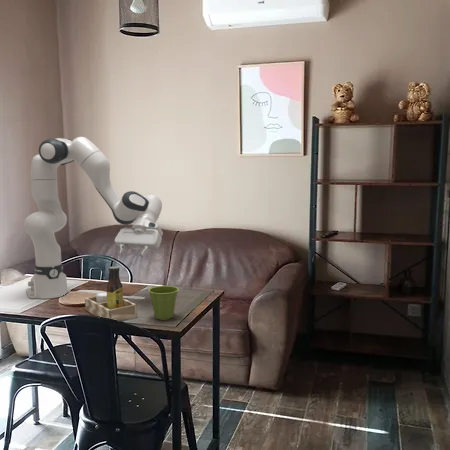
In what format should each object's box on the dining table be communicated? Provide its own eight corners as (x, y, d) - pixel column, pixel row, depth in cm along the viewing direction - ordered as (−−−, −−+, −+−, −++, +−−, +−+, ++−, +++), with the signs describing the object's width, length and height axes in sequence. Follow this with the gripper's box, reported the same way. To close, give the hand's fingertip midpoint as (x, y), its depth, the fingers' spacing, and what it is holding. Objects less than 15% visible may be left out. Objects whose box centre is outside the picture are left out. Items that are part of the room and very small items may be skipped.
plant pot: (185, 318, 196) (184, 290, 195) (157, 324, 189) (157, 295, 188) (170, 310, 206) (169, 283, 204) (143, 316, 199) (142, 288, 197)
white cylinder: (109, 313, 203) (108, 296, 202) (93, 312, 204) (92, 295, 203) (116, 308, 210) (115, 292, 209) (101, 307, 211) (100, 291, 210)
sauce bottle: (119, 319, 195) (117, 269, 192) (104, 318, 196) (102, 268, 194) (126, 314, 201) (124, 266, 198) (112, 313, 203) (110, 265, 200)
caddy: (85, 309, 208) (84, 298, 207) (112, 304, 215) (111, 293, 214) (109, 323, 191) (108, 310, 190) (137, 317, 198) (137, 304, 197)
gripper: (119, 222, 216) (106, 249, 208) (161, 224, 209) (150, 252, 201) (125, 231, 221) (113, 257, 213) (166, 233, 213) (155, 260, 206)
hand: (131, 255), depth 207 cm, fingers open, 8 cm apart
